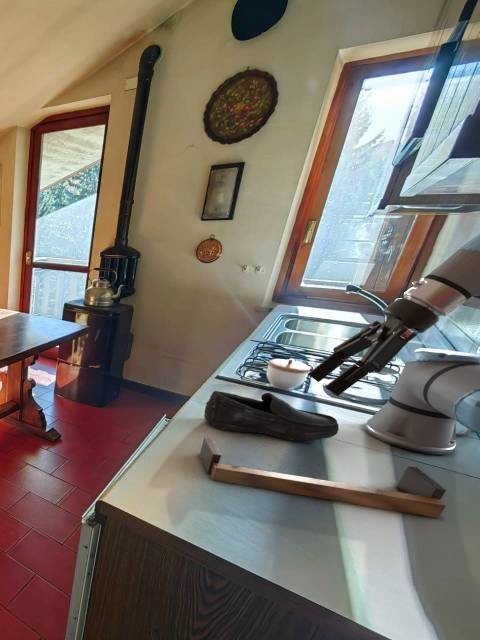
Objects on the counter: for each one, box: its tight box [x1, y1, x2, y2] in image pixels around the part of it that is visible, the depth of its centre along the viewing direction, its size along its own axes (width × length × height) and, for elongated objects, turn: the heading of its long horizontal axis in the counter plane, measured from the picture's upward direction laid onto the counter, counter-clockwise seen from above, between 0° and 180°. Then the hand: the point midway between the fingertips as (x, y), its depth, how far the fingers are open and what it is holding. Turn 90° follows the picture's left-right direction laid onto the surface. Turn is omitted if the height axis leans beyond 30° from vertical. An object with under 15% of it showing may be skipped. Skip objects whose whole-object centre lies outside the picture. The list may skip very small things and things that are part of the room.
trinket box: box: [266, 358, 311, 391], centre depth 127 cm, size 11×11×9 cm
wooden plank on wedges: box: [199, 436, 447, 519], centre depth 79 cm, size 38×10×5 cm, turn 73°
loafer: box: [203, 390, 340, 442], centre depth 98 cm, size 10×29×10 cm, turn 78°
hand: (321, 384), depth 87 cm, fingers open, 13 cm apart
